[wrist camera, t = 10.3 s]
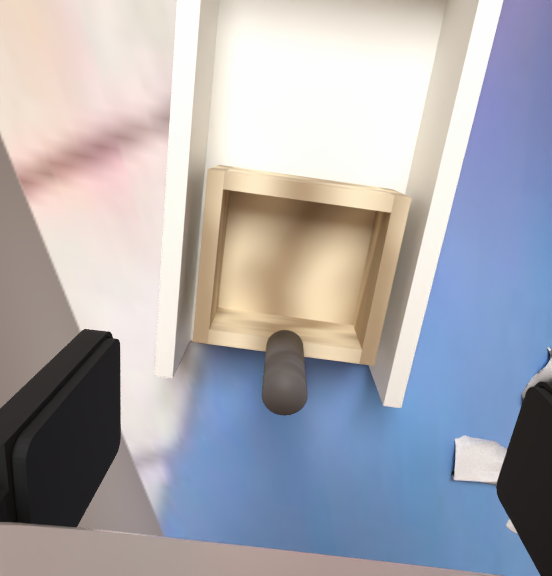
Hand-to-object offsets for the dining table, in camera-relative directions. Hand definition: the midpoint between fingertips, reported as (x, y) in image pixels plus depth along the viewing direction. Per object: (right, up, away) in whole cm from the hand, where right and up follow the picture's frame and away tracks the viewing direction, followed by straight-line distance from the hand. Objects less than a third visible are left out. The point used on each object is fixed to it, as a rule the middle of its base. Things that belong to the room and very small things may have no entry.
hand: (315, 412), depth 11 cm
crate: (0, +5, +23) cm, 24 cm away
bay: (+1, +11, +22) cm, 25 cm away
